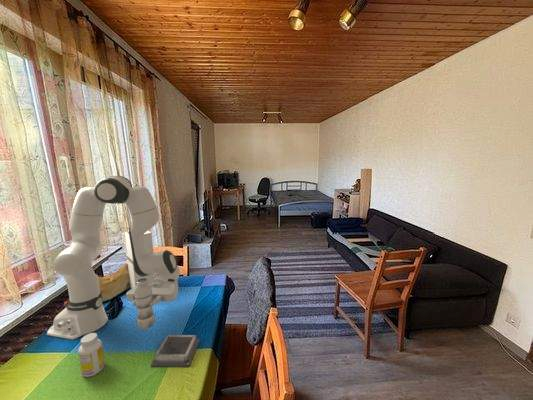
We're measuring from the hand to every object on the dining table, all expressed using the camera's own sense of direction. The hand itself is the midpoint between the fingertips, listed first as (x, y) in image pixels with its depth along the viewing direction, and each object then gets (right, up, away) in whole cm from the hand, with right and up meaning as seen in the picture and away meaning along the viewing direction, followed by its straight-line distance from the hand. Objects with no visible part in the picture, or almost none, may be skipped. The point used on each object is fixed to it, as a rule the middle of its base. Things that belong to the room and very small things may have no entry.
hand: (143, 304), depth 94 cm
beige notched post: (-23, -12, +45) cm, 52 cm away
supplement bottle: (-13, -20, -9) cm, 25 cm away
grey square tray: (+14, -18, -2) cm, 23 cm away
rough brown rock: (-40, -12, +43) cm, 60 cm away
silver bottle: (0, -10, +2) cm, 10 cm away
